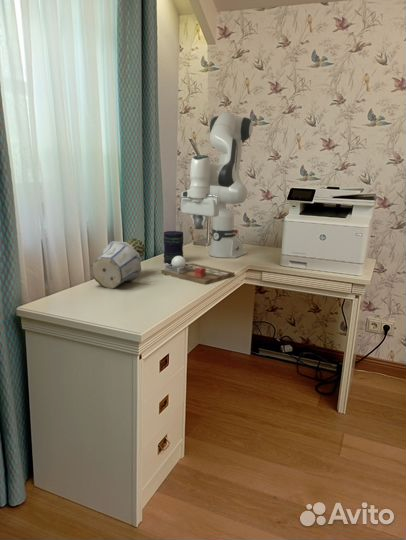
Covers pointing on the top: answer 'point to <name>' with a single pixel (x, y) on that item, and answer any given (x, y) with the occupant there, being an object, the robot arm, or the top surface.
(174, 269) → the board
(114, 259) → the potted plant
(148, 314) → the top surface
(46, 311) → the top surface
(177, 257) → the white ball
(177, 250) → the storage jar
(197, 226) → the pawn
